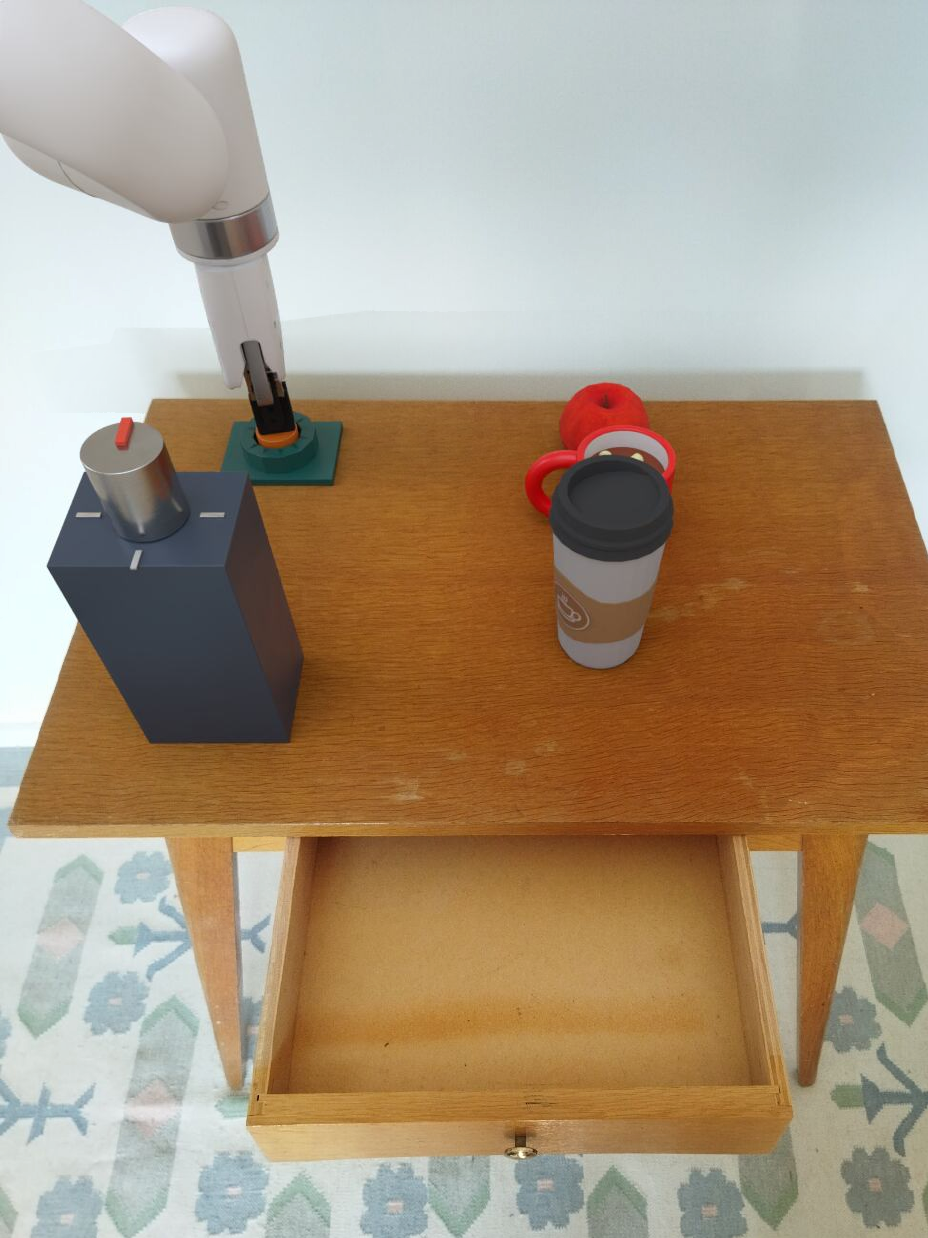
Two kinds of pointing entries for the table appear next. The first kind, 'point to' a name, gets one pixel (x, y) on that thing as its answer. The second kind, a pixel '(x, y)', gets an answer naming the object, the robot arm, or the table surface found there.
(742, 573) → the table surface
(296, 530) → the table surface
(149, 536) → the dial
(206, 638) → the tall knob tower
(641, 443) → the mug
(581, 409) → the apple
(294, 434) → the button
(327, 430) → the push button base
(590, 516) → the coffee cup
